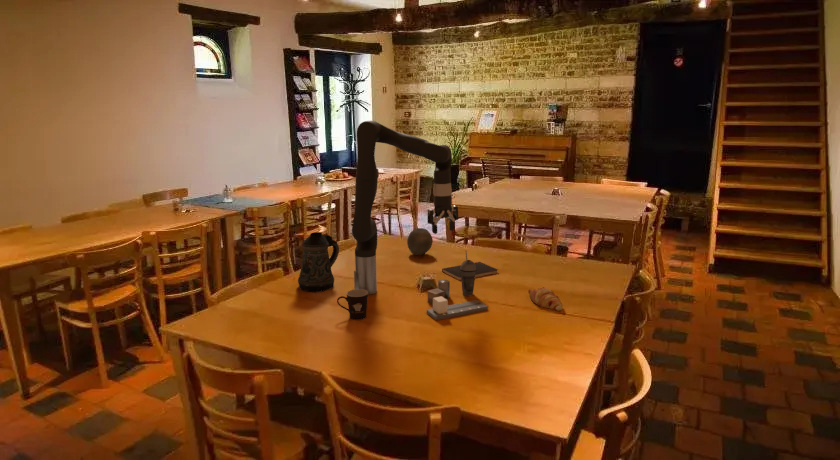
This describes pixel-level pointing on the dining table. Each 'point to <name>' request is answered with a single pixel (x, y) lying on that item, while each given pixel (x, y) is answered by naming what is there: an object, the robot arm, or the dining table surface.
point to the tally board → (459, 309)
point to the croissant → (545, 298)
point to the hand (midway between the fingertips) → (443, 231)
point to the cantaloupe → (419, 241)
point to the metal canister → (444, 287)
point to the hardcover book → (480, 270)
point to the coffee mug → (356, 303)
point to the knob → (440, 305)
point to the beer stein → (317, 263)
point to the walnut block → (434, 294)
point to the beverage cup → (468, 276)
